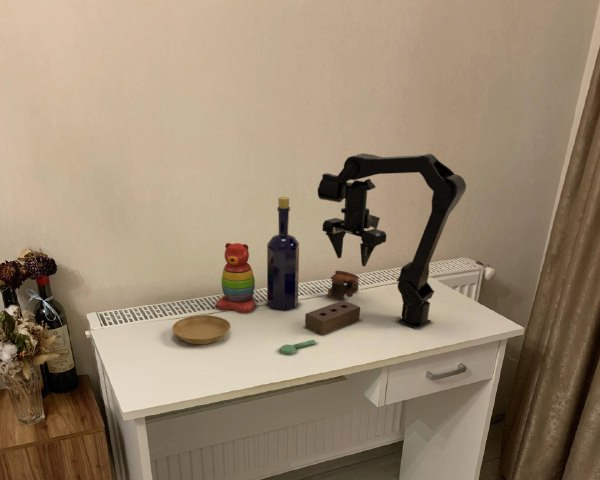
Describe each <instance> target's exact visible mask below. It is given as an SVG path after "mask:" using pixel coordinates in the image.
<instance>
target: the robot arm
mask: <svg viewBox="0 0 600 480" xmlns="http://www.w3.org/2000/svg"><path fill="white" fill-rule="evenodd" d="M411 173H412V174H413V173H415V174H416V173H419V174H420V175H421V176H422V178H423V179H424V181H425V184H426V185H427V186H428V188H429V189H430V190H432V197H431V211H430V214H429V217H428V220H427V223H426V225H425V227H424V229H423V233H422V235H421V238H420V241H419V242H418V243H419V244H418V246H417V249H416V250H415V253H414V256H413V259H412V261H409V262H408V263H406V264H405V265H403V266H402V267H401V269H400V272H399V273H400V274H399V277H398V278H397V279H396V282H397V289H398V292H399V294H400V295H401V300H402V308H401V318H399V319H398V322H399V323H402V324H404V325H407V326H409V327H413V328H415V329H419V328H421V327H424V326H426V325H428V324H430V323H432V322H431V321H432V320H431V319H429V313H430V306H431V302H430V301H429V300H430V299H431V298H432V297H433V295H434V293H435V290H433V288H432V287H431V285H430V283H429V282H428V280H429V275H430V267H429V266H430V262H431V260H432V258H433V255H434V254H435V251H436V248H437V246H438V243H439V241H440V238H441V236H442V233H443V231H444V228H445V226H446V224H447V221H448V219H449V216H450V214H451V213H452V212H453V210H454V209H455V208H456V207H457V205H458V204H459V202H460V200H461V199H462V197H463V196H464V194H465V192H466V189H467V183H466V182H465V179H464V178H463V176H461V175H460V174H455V172H454V171H453V170H452V169H451V168H449V167H448V166H447V165H445V164H444V163H443V162H441V161H440V160H439V159H438V158H437V157H436V156H435V155H434V154H432V153H426V154H419V155H418V154H416V155H400V156H399V155H397V156H378V155H375V154H370V153H359V154H355V155H352V156H348V157H347V158H346V159H345V161H344V163H343V168H342V170H340V172H339V173H338V175H337V174H332V173H328V172H326V173H323V174H321V175H322V176H321V178H322V179H321V180H320V182H319V184H318V187H317V196H318V199H319V200H322V201H328V202H335V203H342V202H343V200H344V207H343V208H341V209H340V212H341V213H342V214H343V219H342V218H338V217H334V218H329V219H325V220H324V221H323V223H322V230H321V231H322V232H325V235H326V236H327V238H328V240H329V241H330V244H331V246H332V248H333V250H334V253H335V255H336V258H337V259H341V258H342V257H343V245H344V237H346V236H345V235H346V234H349V235H353V236H356V237H359V238H360V240H361V242H362V243H360V245H359V246H360V259H361V266H362V267H363V268H364V267H366V266H367V264H368V262H369V259H370V257H371V255H372V253H373V251H374V250H375V248H376V247H377V246H380V245H382V244H384V243H386V242H387V233H386V232H385V231H384V230H381V229H378V226H379V224H380V223H379V222H380V218H381V217H379V216H376V215H373V214H370V208H367V201H368V191H372V190H375V189H376V185H375V183H373V182H372V180H371V178H368V177H372V176H376V175H387V174H390V175H391V174H411ZM364 178H365V180H361V179H364ZM366 178H367V179H366ZM349 181H352V182H349ZM370 228H372V229H370Z"/></svg>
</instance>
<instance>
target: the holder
mask: <svg viewBox="0 0 600 480" xmlns="http://www.w3.org/2000/svg"><path fill="white" fill-rule="evenodd" d="M304 317H305V318H304V328H305V329H308V330H309V331H312V332H314V333H316V334H319V335H321V336H324V335H326V334H329V333H332V332H334V331H337V330H339V329H341V328H345V327H346V326H350V325H351V324H354V323H357V322H359V321H360V320H361V319H360V318H361V306H360V305H357V304H354V303H351V302H349V301H346V300H344V299H343V300H342V299H341V300H340V301H337V302H334V303H331V304H328V305H326V306H323V307H320V308H318V309H315V310H312V311H308V312H306V313H305V315H304Z"/></svg>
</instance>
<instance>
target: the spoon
mask: <svg viewBox="0 0 600 480" xmlns="http://www.w3.org/2000/svg"><path fill="white" fill-rule="evenodd" d="M315 344H316V340H315V339H310V340H306V341H302V342H299V343H294V344H283V345H281V346H280V353H281V354H283V355H293V354H295V352H296V349H300V348H304V347H307V346H311V345H315Z"/></svg>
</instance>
